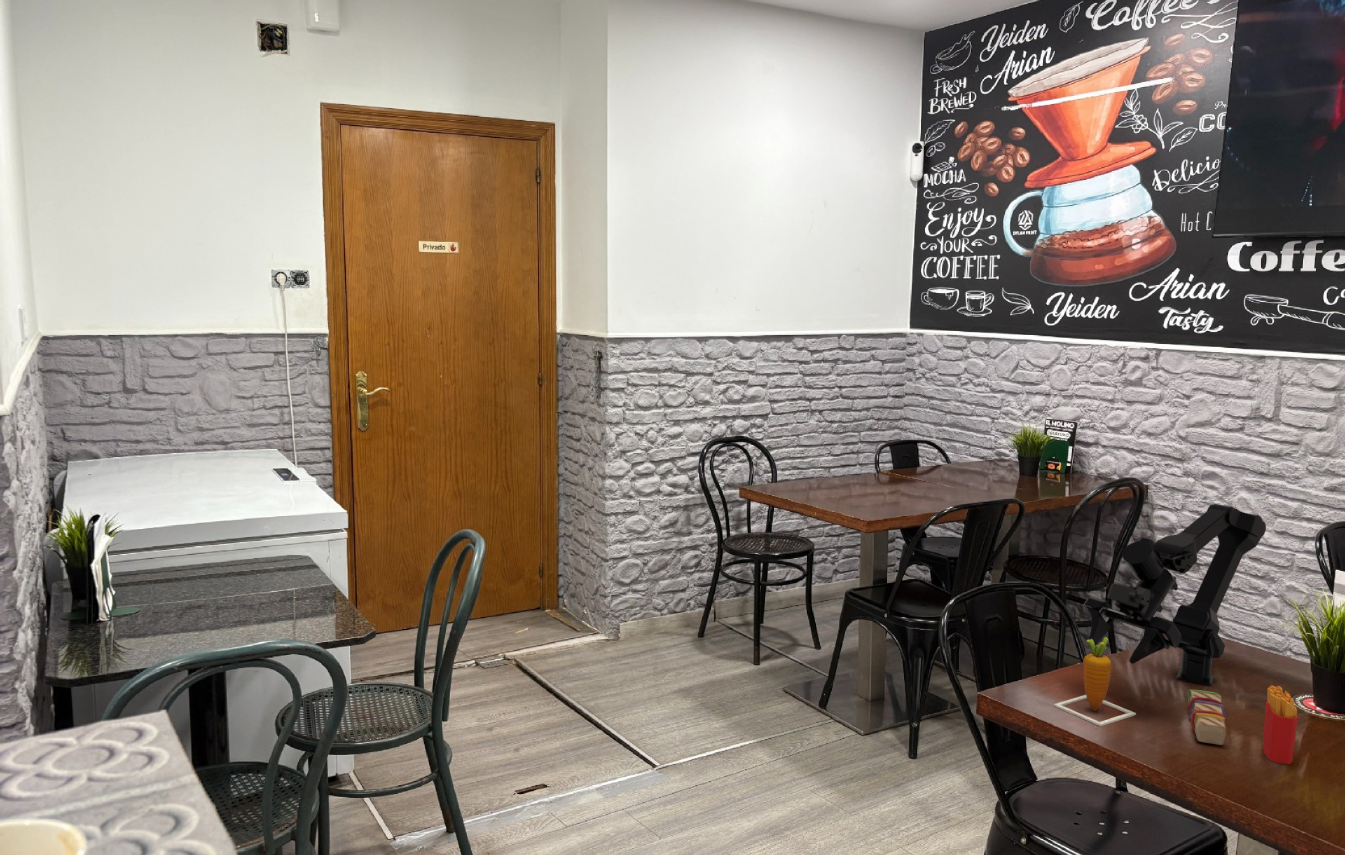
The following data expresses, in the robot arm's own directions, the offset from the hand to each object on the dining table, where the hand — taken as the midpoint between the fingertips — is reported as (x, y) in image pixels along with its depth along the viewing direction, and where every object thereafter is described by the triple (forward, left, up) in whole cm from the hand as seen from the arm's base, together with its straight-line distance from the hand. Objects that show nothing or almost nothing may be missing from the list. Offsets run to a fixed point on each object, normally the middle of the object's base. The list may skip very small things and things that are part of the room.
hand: (1109, 654), depth 190 cm
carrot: (+3, -2, -11) cm, 12 cm away
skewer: (-2, +17, -11) cm, 21 cm away
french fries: (+5, +29, -11) cm, 32 cm away
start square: (+3, -2, -11) cm, 11 cm away
